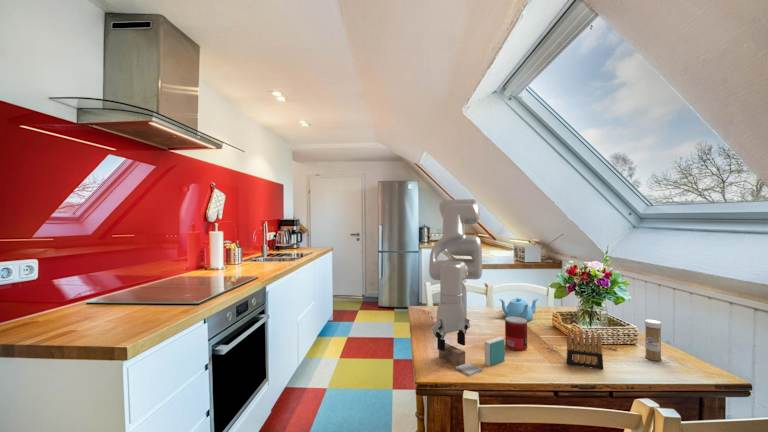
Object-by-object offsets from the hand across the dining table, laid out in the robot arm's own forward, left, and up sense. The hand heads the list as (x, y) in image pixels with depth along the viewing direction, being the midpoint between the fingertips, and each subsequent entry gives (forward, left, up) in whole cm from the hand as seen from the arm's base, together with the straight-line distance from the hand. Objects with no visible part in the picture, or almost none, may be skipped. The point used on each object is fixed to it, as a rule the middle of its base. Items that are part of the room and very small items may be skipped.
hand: (451, 347), depth 117 cm
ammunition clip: (+28, +35, -6) cm, 45 cm away
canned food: (+5, +30, -6) cm, 31 cm away
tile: (+9, +12, -5) cm, 16 cm away
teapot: (-16, +63, -6) cm, 66 cm away
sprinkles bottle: (+39, +61, -6) cm, 73 cm away
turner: (+3, 0, -5) cm, 6 cm away
